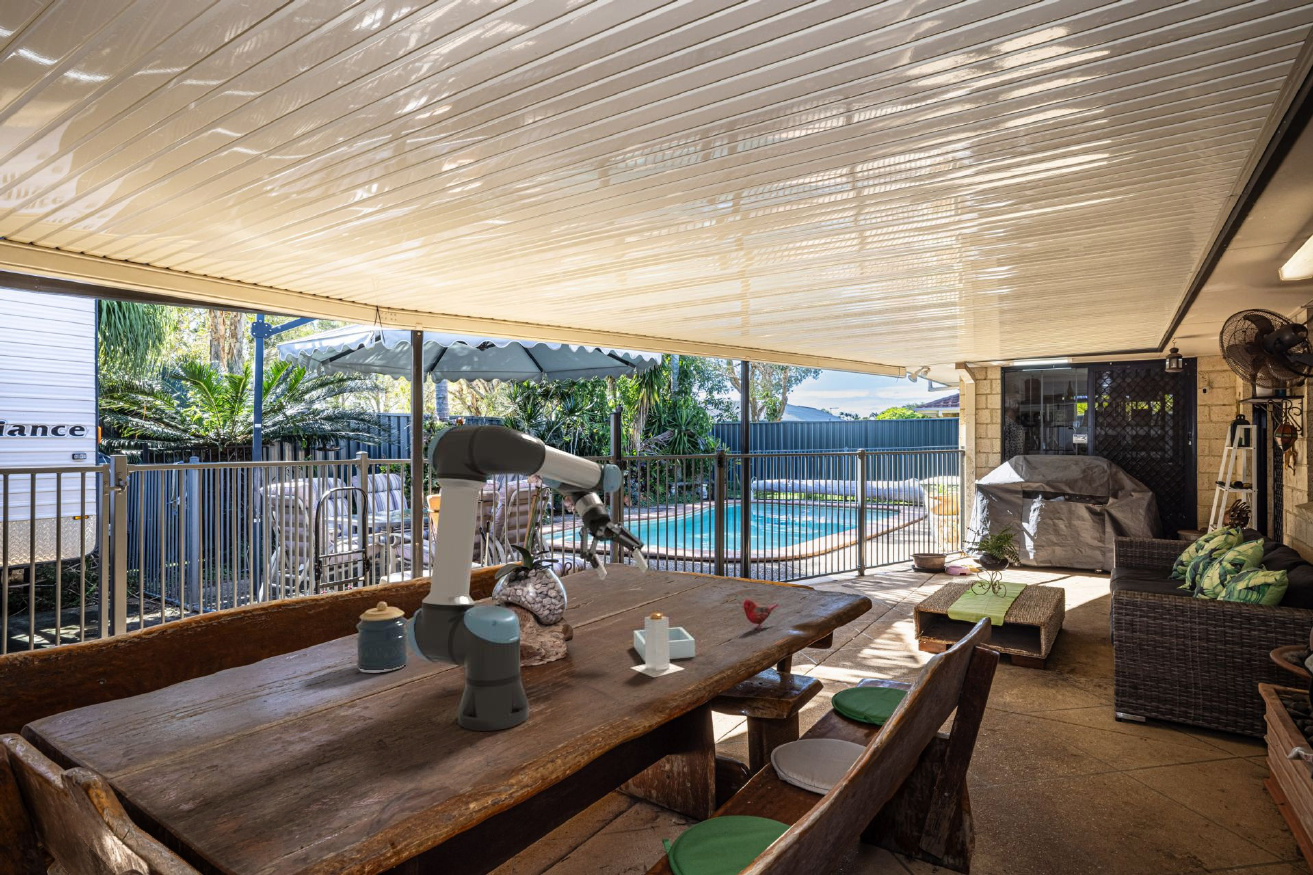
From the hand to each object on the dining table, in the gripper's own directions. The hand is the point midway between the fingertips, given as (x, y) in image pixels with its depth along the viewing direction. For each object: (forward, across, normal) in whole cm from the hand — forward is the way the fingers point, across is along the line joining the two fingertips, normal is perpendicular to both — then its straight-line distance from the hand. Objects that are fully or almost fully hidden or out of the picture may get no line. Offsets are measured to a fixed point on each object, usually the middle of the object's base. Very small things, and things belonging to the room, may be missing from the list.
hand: (625, 573), depth 196 cm
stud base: (+26, 0, -8) cm, 27 cm away
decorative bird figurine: (+17, -53, -18) cm, 59 cm away
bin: (+19, -10, -15) cm, 27 cm away
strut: (+25, 0, -7) cm, 26 cm away
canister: (-12, +52, -46) cm, 70 cm away
